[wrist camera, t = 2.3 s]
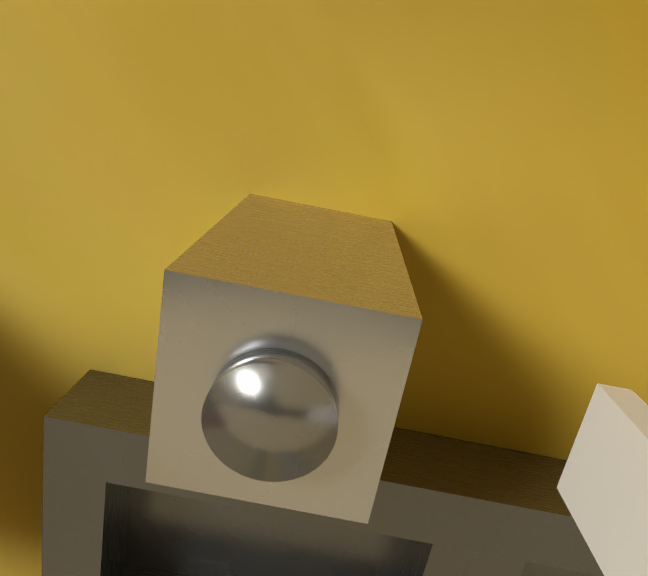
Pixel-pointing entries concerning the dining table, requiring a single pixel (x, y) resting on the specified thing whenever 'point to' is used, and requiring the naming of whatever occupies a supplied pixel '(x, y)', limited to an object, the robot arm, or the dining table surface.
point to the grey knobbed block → (283, 359)
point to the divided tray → (290, 525)
